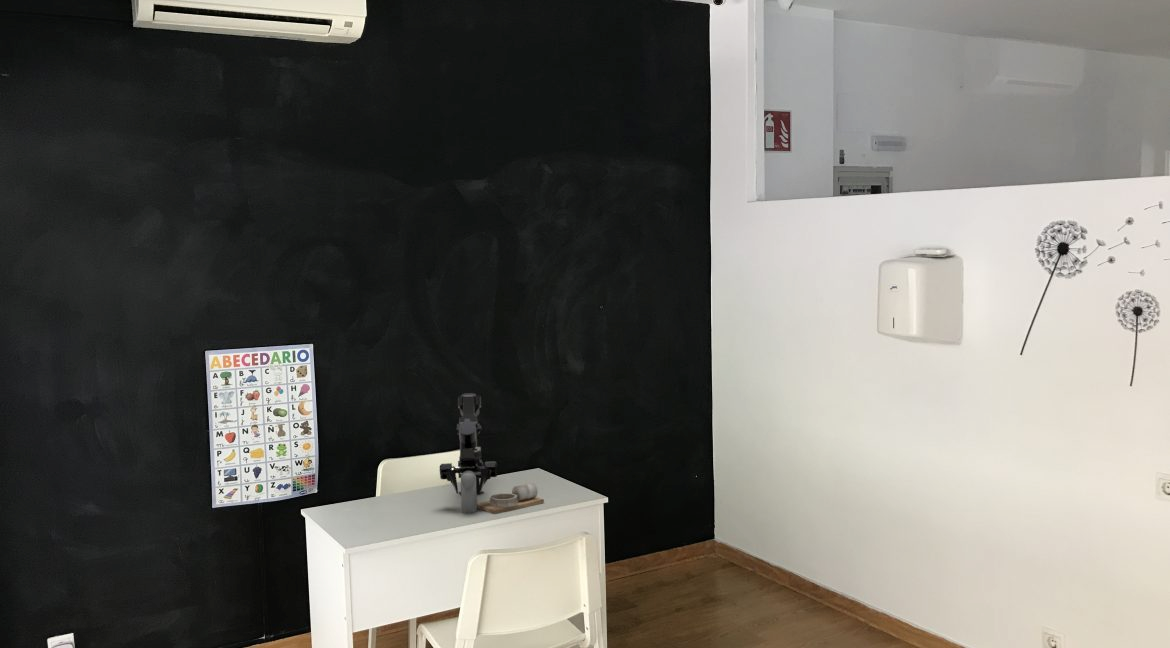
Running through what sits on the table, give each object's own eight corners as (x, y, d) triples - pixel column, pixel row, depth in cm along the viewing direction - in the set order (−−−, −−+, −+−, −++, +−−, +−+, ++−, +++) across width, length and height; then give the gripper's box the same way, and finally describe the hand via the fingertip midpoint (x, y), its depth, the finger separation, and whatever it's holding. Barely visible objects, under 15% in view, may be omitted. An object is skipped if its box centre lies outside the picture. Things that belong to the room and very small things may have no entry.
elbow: (461, 509, 297) (460, 469, 296) (477, 509, 298) (476, 468, 297) (461, 515, 290) (460, 473, 289) (476, 514, 291) (475, 473, 290)
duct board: (474, 507, 300) (473, 488, 300) (523, 496, 313) (522, 479, 312) (494, 514, 291) (493, 495, 291) (543, 502, 304) (543, 484, 303)
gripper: (438, 439, 297) (438, 480, 286) (496, 437, 298) (497, 477, 288) (441, 458, 305) (440, 498, 294) (496, 456, 307) (497, 496, 296)
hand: (468, 492), depth 293 cm, fingers open, 7 cm apart
